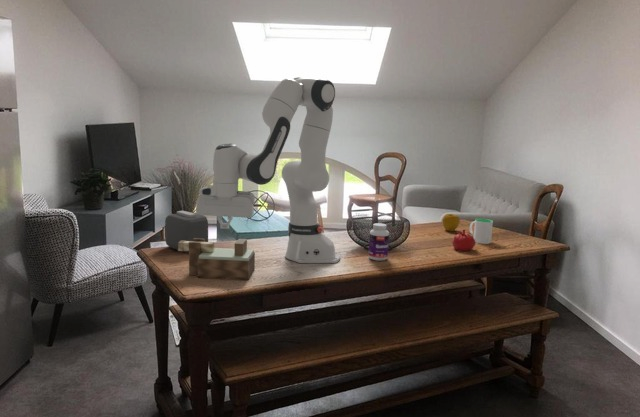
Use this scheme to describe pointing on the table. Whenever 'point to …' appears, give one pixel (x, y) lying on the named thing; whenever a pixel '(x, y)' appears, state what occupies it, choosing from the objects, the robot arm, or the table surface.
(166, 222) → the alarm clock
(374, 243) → the pill bottle
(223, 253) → the lid
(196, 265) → the chest
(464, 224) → the table surface
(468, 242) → the pomegranate
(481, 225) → the mug
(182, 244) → the bar
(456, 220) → the apple
